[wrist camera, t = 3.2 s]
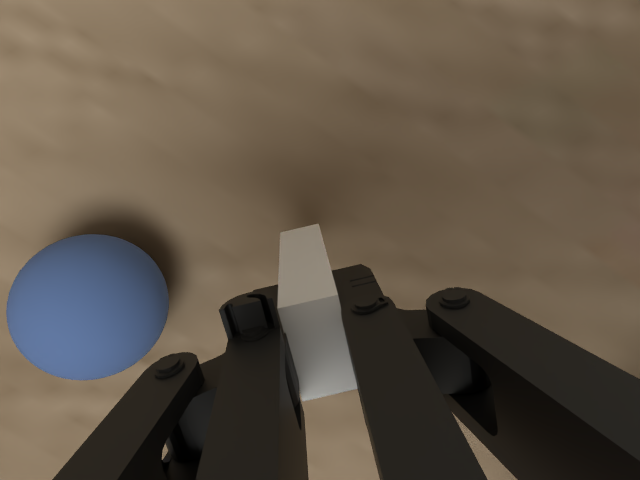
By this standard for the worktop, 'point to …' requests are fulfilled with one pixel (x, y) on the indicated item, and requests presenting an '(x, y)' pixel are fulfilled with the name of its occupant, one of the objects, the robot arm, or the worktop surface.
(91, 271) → the ball
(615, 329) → the worktop surface
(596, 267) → the worktop surface
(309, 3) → the worktop surface
